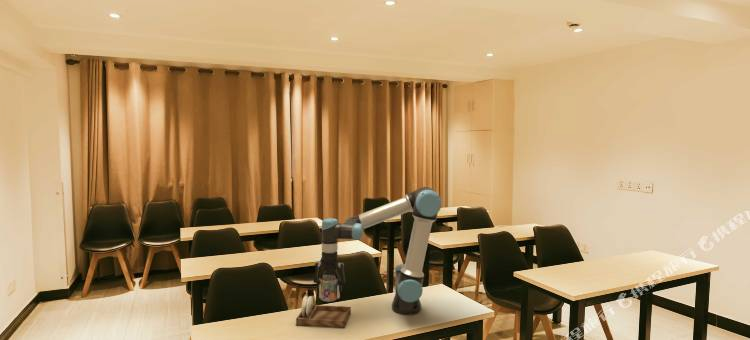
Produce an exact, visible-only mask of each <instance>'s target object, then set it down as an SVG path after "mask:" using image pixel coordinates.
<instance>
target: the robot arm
mask: <svg viewBox="0 0 750 340" xmlns="http://www.w3.org/2000/svg"><path fill="white" fill-rule="evenodd" d="M441 208H442V199H441V197H440V195H439V193H437V192H436V191H435V190H434V189H432V187H431V188H430V187H427V186H425V187H424V186H423V187H419V188H417V189H415V190H413V191H412V192H408V193H405V196H403V197H402V198H398V199H396V200H394V201H391V202H389V203H385V204H384V205H381V206H379V207H378V206H377V207H376V208H374V209H371V210H368V211H365V212H362V213H360V214H358V215H354V216H349V217H348V218H346V219H345V221H344V223H341V222H340V223H339V221H338V219H336V218H333V217H329V218H324V219H322V220H321V251H322V252H321V261H318V260H317V261H316V262H315V264H314V265H315V270H314V276H313V283H315V284H316V289H317V290H316V291H318V292H319V293H318V295H319V296H318V298H319V299H320V297H321V294H322V285H321V282H320V280H319V278H321V279H322V277H323V276H324V275H325V273H326V271H331V272H333V274H334V275H335V277H336V279H338V282H337V285H336V294H337V298H338V299H337V300H339V299H340V297H341V294H340V292H342V290H343V285H345V283H346V276H345V274H346V273H345V270H344V266H345V263H344V262H339V260H338V248H339V246H338V240H356V241H357V240H361V239H363V231H364V230H365V229H367V228H370V227H372V226H375V225H377V224H381V223H383V222H386V221H387V220H391V219H393V218H396V217H398V216H401V215H403V214H406V213H409V212H412V217H413V219H414V220H413V224H412V225H413V226H412V229H411V233H410V239H409V244H408V248H407V253H406V258H405V262H404V263H403V264H397V265H396V266H395V271H394V272H395V293H394V297H393V300H392V303H391V310H392V311H393V312H394V313H397V314H401V315H416V314H419V313H420V312H421V311H422V304H421V301H420V298H422V295H423V283H424V279H425V278H424V277H425V274H424V272H423V268H424V262H425V259H426V253H427V250H428V244H429V239H430V234H431V230H432V227H433V223H434V222H436V221H437V220H438V219H437V218H438V214H439V212H440V211H441ZM320 267H322V268H323V269H322V271H321V273H320V275H319V272H320ZM337 267H338V268H339V272H340V274H339V272H338V269H337Z"/></svg>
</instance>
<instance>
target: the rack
mask: <svg viewBox="0 0 750 340" xmlns="http://www.w3.org/2000/svg"><path fill="white" fill-rule="evenodd" d="M351 309H352V308H351V306H341V305H322V304H313V310H312V313H310V316H309V318H308V317H307V315H306V317H302V311H301V310H300V312H299V314H298V315H297V317H296V318H295V319H296V320H295V322H296V323H295V325H296V326H297V327H309V328H311V327H312V328H329V329H331V328H332V329H346V326H347V324H348V322H349V319H350V316H351V314H352V313H351V312H352V310H351Z"/></svg>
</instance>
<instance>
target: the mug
mask: <svg viewBox="0 0 750 340" xmlns="http://www.w3.org/2000/svg"><path fill="white" fill-rule="evenodd" d="M318 280H320V283H321V285H322V294H321V297H320V298H319V299H320V300H321V301H323V302H326V303H327V302H329V303H330V302H335V301H337V300H339V299H338V298H337V285H338V279H336V277H335V275H333V274H324V275H323V277H322V279H321V278H319V277H318Z"/></svg>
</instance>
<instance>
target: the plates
mask: <svg viewBox="0 0 750 340" xmlns="http://www.w3.org/2000/svg"><path fill="white" fill-rule="evenodd" d="M313 305H314V299H313V296H312V295H310V296H307V295H304V296H303V299H302V302H301V310H300V312H301V311H302V317H306V315H307V317H308V318H309V316H310V313H312V310H313Z"/></svg>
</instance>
